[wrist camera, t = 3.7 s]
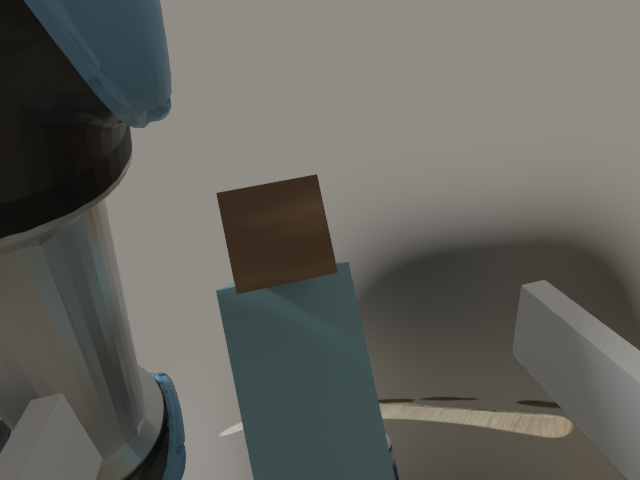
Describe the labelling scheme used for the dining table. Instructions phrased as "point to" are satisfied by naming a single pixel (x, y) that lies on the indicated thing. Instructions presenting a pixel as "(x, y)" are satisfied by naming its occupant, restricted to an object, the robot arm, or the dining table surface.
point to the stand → (305, 381)
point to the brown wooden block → (276, 233)
